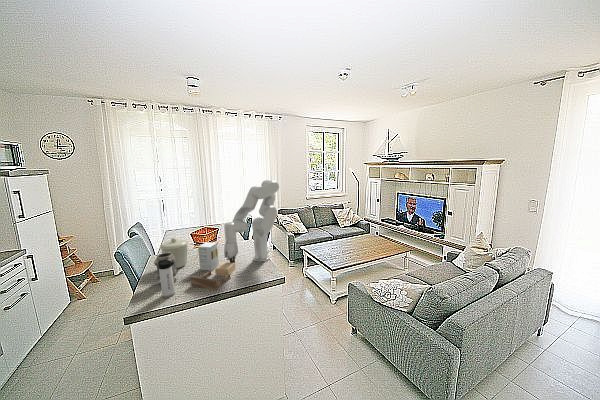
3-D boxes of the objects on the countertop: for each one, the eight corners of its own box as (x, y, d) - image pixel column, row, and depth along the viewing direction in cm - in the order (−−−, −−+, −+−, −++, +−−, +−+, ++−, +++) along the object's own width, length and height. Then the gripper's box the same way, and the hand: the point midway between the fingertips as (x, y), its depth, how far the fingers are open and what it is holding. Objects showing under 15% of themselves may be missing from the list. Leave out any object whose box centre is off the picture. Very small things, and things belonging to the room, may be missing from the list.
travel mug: (165, 292, 138) (160, 259, 134) (176, 291, 138) (173, 258, 135) (159, 298, 132) (155, 264, 128) (172, 297, 132) (167, 263, 129)
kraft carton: (223, 269, 166) (222, 262, 166) (235, 269, 165) (234, 262, 164) (216, 275, 157) (215, 268, 156) (228, 276, 155) (228, 269, 154)
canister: (165, 274, 160) (162, 244, 157) (159, 265, 174) (156, 237, 170) (194, 265, 172) (191, 237, 169) (186, 258, 185) (183, 232, 182)
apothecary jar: (178, 275, 158) (175, 249, 155) (178, 283, 147) (175, 256, 144) (157, 280, 152) (153, 253, 149) (155, 289, 142) (152, 260, 139)
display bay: (208, 274, 158) (208, 265, 157) (231, 278, 152) (231, 269, 151) (191, 286, 144) (190, 276, 143) (215, 290, 138) (214, 281, 137)
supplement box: (211, 270, 163) (209, 247, 161) (199, 270, 165) (197, 246, 162) (219, 264, 173) (217, 242, 170) (207, 264, 175) (205, 242, 172)
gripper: (232, 236, 173) (234, 260, 176) (219, 243, 159) (221, 269, 162) (241, 237, 170) (243, 261, 173) (228, 244, 157) (230, 270, 160)
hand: (232, 265), depth 168 cm, fingers closed
